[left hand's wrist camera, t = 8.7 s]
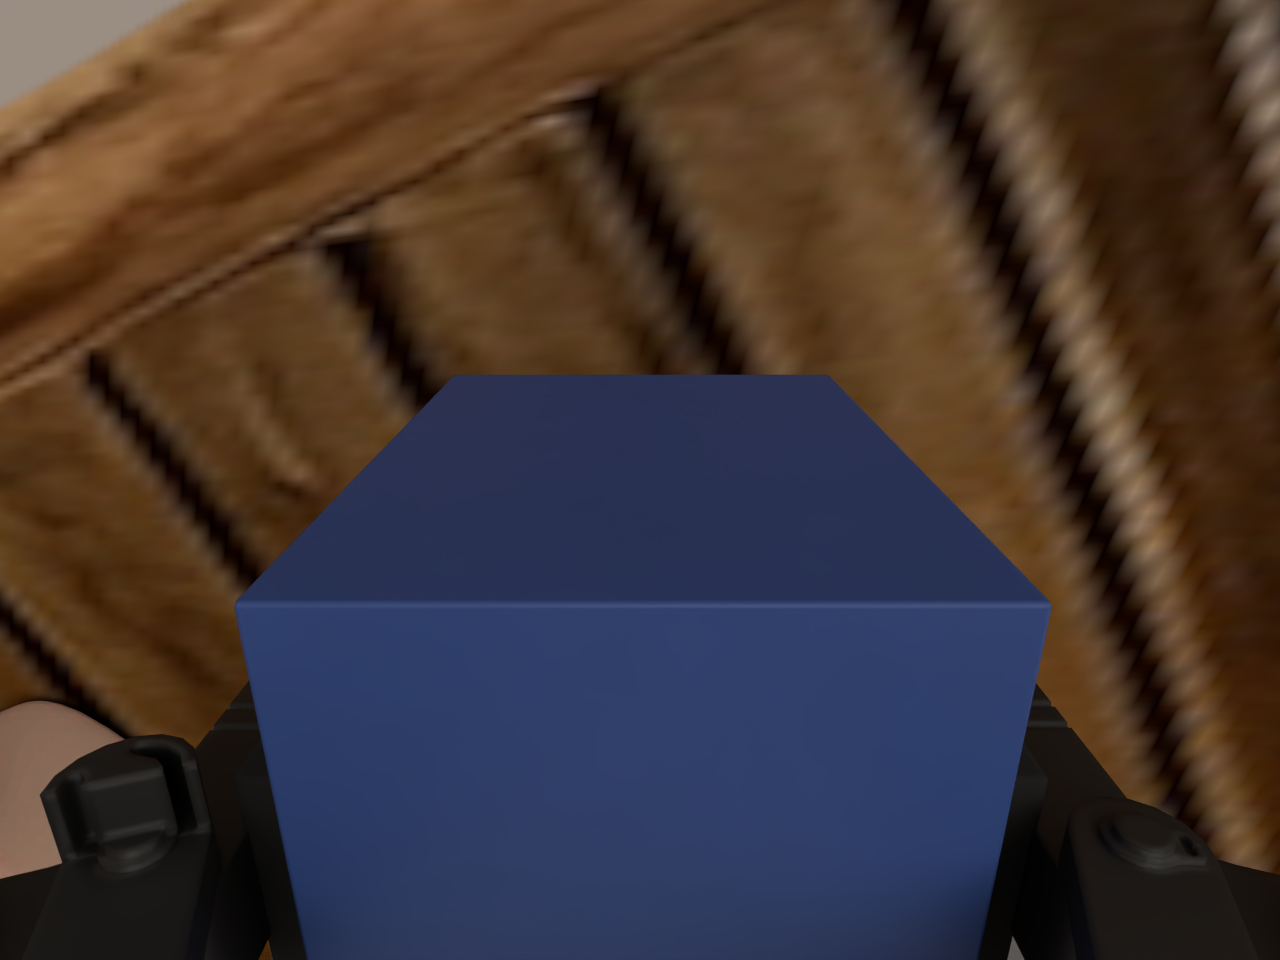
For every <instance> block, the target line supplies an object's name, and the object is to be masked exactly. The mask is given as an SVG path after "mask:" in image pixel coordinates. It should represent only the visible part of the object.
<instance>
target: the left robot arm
mask: <svg viewBox="0 0 1280 960" xmlns="http://www.w3.org/2000/svg"><path fill="white" fill-rule="evenodd" d="M40 798H41V801H42V804H43V807H44V810H45V813H46V816H47V819H48V822H49V825H50V828H51V831H52V834H53V837H54V840H55V843H56V846H57V849H58V852H59V855H60V858H61V861H62V863H61V864H57V865H54V866H51V867H48V868H43V869H39V870H35V871H31V872H26V873H22V874H18V875H14V876H9V877H5V878H1V879H0V960H258V959H259V957H260V955H261V953H262V951H263V949H264V947H265V945H266V943H267V941H268V939H269V943H270V948H271V952H272V957H273V960H306V955H305V950H304V945H303V940H302V935H301V930H300V925H299V921H298V916H297V911H296V906H295V901H294V896H293V891H292V886H291V881H290V877H289V872H288V867H287V862H286V857H285V852H284V847H283V842H282V838H281V833H280V828H279V823H278V818H277V813H276V808H275V803H274V799H273V794H272V789H271V784H270V779H269V774H268V769H267V764H266V759H265V755H264V750H263V745H262V740H261V735H260V730H259V725H258V720H257V716H256V711H255V706H254V701H253V696H252V691H251V686H250V681H248V683H247V684H246V685H245V687H244V688H243V689H242V690H241V692H240V693H239V694H238V695H237V697H236V698H235V699H234V701H233V702H232V703H231V704H230V710H226V711H225V712H224V713H223V715H222V716H221V717H220V718H219V720H218V721H217V722H216V723H215V725H214V730H213V731H209V732H208V734H207V735H206V736H205V737H204V739H203V740H202V741H201V743H200V744H199V745H198V746H197V748H196V749H195V748H194V747H193V746H191V745H190V744H189V743H188V742H187V741H185V740H184V739H183V738H179V737H174V736H169V735H164V734H159V735H147V736H136V737H132V738H129V739H125V740H122V741H118V742H115V743H111V744H108V745H105V746H103V747H101V748H99V749H97V750H95V751H93V752H90V753H88V754H86V755H84V756H82V757H80V758H78V759H77V760H75V761H74V762H73V763H71V764H70V765H69V766H67V767H66V768H64V769H63V770H62V771H60V772H59V773H58V774H56V775H55V776H54V777H53V778H52V780H51V781H50V782H49V783H48V785H47V786H46V787H45V789H44V790H43V791H42V792H41V794H40ZM978 960H1280V875H1277V874H1273V873H1269V872H1264V871H1260V870H1256V869H1252V868H1247V867H1243V866H1239V865H1235V864H1231V863H1228V862H1224V861H1221V860H1218V859H1216V857H1215V856H1214V854H1213V853H1212V851H1211V850H1210V848H1209V847H1208V845H1207V844H1206V842H1205V841H1204V840H1203V839H1202V838H1201V837H1199V836H1198V835H1197V834H1196V833H1195V832H1193V831H1192V830H1191V829H1190V828H1189V827H1187V826H1186V825H1185V824H1184V823H1183V822H1181V821H1179V820H1177V819H1176V818H1174V817H1172V816H1170V815H1168V814H1166V813H1164V812H1163V811H1161V810H1159V809H1157V808H1155V807H1152V806H1149V805H1146V804H1143V803H1140V802H1136V801H1133V800H1130V799H1127V798H1126V796H1125V795H1124V794H1123V793H1122V791H1121V790H1120V789H1119V788H1118V786H1117V785H1116V784H1115V783H1114V781H1113V780H1112V779H1111V777H1110V776H1109V775H1108V774H1107V772H1106V771H1105V770H1104V769H1103V767H1102V766H1101V765H1100V764H1099V762H1098V761H1097V760H1096V758H1095V757H1094V756H1093V755H1092V753H1091V752H1090V751H1089V750H1088V748H1087V747H1086V746H1085V745H1084V743H1083V742H1082V741H1081V740H1080V738H1079V737H1078V736H1077V734H1076V733H1075V732H1074V731H1073V729H1072V728H1068V727H1067V722H1066V721H1065V719H1064V718H1063V717H1062V715H1061V714H1060V713H1059V712H1058V710H1057V709H1056V708H1055V707H1051V702H1050V700H1049V699H1048V698H1047V696H1046V695H1045V694H1044V693H1043V691H1042V690H1041V689H1040V688H1039V686H1038V685H1037V684H1035V689H1034V694H1033V698H1032V703H1031V708H1030V713H1029V718H1028V723H1027V727H1026V732H1025V737H1024V742H1023V747H1022V751H1021V756H1020V761H1019V766H1018V771H1017V775H1016V780H1015V785H1014V790H1013V795H1012V799H1011V804H1010V809H1009V814H1008V819H1007V824H1006V828H1005V833H1004V838H1003V843H1002V848H1001V852H1000V857H999V862H998V867H997V872H996V876H995V881H994V886H993V891H992V896H991V901H990V905H989V910H988V915H987V920H986V925H985V929H984V934H983V939H982V944H981V949H980V953H979V958H978Z"/></svg>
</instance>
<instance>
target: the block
mask: <svg viewBox="0 0 1280 960" xmlns="http://www.w3.org/2000/svg"><path fill="white" fill-rule="evenodd" d="M1050 612H1051V604H1050V601H1049V600H1048V599H1047V598H1046V597H1045V596H1044V595H1043V594H1042V593H1041V592H1040V591H1039V590H1038V589H1037V588H1036V587H1035V586H1034V585H1033V584H1032V583H1031V582H1030V581H1029V580H1028V579H1027V578H1026V577H1025V576H1024V575H1023V574H1022V573H1021V572H1020V571H1019V570H1018V569H1017V568H1016V567H1015V565H1014V564H1013V563H1012V562H1011V561H1010V560H1009V559H1008V558H1007V557H1006V556H1005V555H1004V554H1003V553H1002V552H1001V551H1000V550H999V549H998V548H997V547H996V546H995V545H994V544H993V543H992V542H991V541H990V540H989V539H988V538H987V537H986V536H985V535H984V534H983V533H982V532H981V531H980V530H979V529H978V528H977V527H976V526H975V525H974V524H973V523H972V522H971V520H970V519H969V518H968V517H967V516H966V515H965V514H964V513H963V512H962V511H961V510H960V509H959V508H958V507H957V506H956V505H955V504H954V503H953V502H952V501H951V500H950V499H949V498H948V497H947V496H946V495H945V494H944V493H943V492H942V491H941V490H940V489H939V488H938V487H937V486H936V485H935V484H934V483H933V482H932V481H931V480H930V479H929V478H928V477H927V476H926V474H925V473H924V472H923V471H922V470H921V469H920V468H919V467H918V466H917V465H916V464H915V463H914V462H913V461H912V460H911V459H910V458H909V457H908V456H907V455H906V454H905V453H904V452H903V451H902V450H901V449H900V448H899V447H898V446H897V445H896V444H895V443H894V442H893V441H892V440H891V439H890V438H889V437H888V436H887V435H886V434H885V433H884V432H883V431H882V430H881V428H880V427H879V426H878V425H877V424H876V423H875V422H874V421H873V420H872V419H871V418H870V417H869V416H868V415H867V414H866V413H865V412H864V411H863V410H862V409H861V408H860V407H859V406H858V405H857V404H856V403H855V402H854V401H853V400H852V399H851V398H850V397H849V396H848V395H847V394H846V393H845V392H844V391H843V390H842V389H841V388H840V387H839V386H838V385H837V384H836V382H835V381H834V380H833V379H832V378H831V377H830V376H828V375H455V376H453V377H452V378H451V379H450V380H449V381H448V383H447V384H446V385H445V386H444V387H443V388H442V389H441V390H440V391H439V392H438V393H437V394H436V395H435V396H434V397H433V398H432V399H431V400H430V401H429V402H428V403H427V404H426V405H425V406H424V407H423V408H422V409H421V410H420V411H419V413H418V414H417V415H416V416H415V417H414V418H413V419H412V420H411V421H410V422H409V423H408V424H407V425H406V426H405V427H404V428H403V429H402V430H401V431H400V432H399V433H398V434H397V435H396V436H395V437H394V438H393V439H392V440H391V441H390V443H389V444H388V445H387V446H386V447H385V448H384V449H383V450H382V451H381V452H380V453H379V454H378V455H377V456H376V457H375V458H374V459H373V460H372V461H371V462H370V463H369V464H368V465H367V466H366V467H365V468H364V469H363V470H362V471H361V473H360V474H359V475H358V476H357V477H356V478H355V479H354V480H353V481H352V482H351V483H350V484H349V485H348V486H347V487H346V488H345V489H344V490H343V491H342V492H341V493H340V494H339V495H338V496H337V497H336V498H335V499H334V500H333V501H332V502H331V504H330V505H329V506H328V507H327V508H326V509H325V510H324V511H323V512H322V513H321V514H320V515H319V516H318V517H317V518H316V519H315V520H314V521H313V522H312V523H311V524H310V525H309V526H308V527H307V528H306V529H305V530H304V531H303V532H302V534H301V535H300V536H299V537H298V538H297V539H296V540H295V541H294V542H293V543H292V544H291V545H290V546H289V547H288V548H287V549H286V550H285V551H284V552H283V553H282V554H281V555H280V556H279V557H278V558H277V559H276V560H275V561H274V562H273V564H272V565H271V566H270V567H269V568H268V569H267V570H266V571H265V572H264V573H263V574H262V575H261V576H260V577H259V578H258V579H257V580H256V581H255V582H254V583H253V584H252V585H251V586H250V587H249V588H248V589H247V590H246V591H245V592H244V593H243V595H242V596H241V597H240V598H239V599H238V600H237V601H236V603H235V613H236V618H237V623H238V628H239V633H240V637H241V642H242V647H243V652H244V657H245V662H246V667H247V672H248V676H249V681H250V686H251V691H252V696H253V701H254V706H255V711H256V716H257V720H258V725H259V730H260V735H261V740H262V745H263V750H264V755H265V759H266V764H267V769H268V774H269V779H270V784H271V789H272V794H273V799H274V803H275V808H276V813H277V818H278V823H279V828H280V833H281V838H282V842H283V847H284V852H285V857H286V862H287V867H288V872H289V877H290V881H291V886H292V891H293V896H294V901H295V906H296V911H297V916H298V921H299V925H300V930H301V935H302V940H303V945H304V950H305V955H306V960H978V958H979V953H980V949H981V944H982V939H983V934H984V929H985V925H986V920H987V915H988V910H989V905H990V901H991V896H992V891H993V886H994V881H995V876H996V872H997V867H998V862H999V857H1000V852H1001V848H1002V843H1003V838H1004V833H1005V828H1006V824H1007V819H1008V814H1009V809H1010V804H1011V799H1012V795H1013V790H1014V785H1015V780H1016V775H1017V771H1018V766H1019V761H1020V756H1021V751H1022V747H1023V742H1024V737H1025V732H1026V727H1027V723H1028V718H1029V713H1030V708H1031V703H1032V698H1033V694H1034V689H1035V684H1036V679H1037V674H1038V670H1039V665H1040V660H1041V655H1042V650H1043V646H1044V641H1045V636H1046V631H1047V626H1048V621H1049V617H1050Z"/></svg>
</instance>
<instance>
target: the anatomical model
mask: <svg viewBox="0 0 1280 960" xmlns="http://www.w3.org/2000/svg"><path fill="white" fill-rule="evenodd" d="M122 740H125V739H124V738H122V737H121V736H119V735H118V734H116V733H115V732H113V731H112V730H110V729H109V728H107V727H106V726H104V725H102V724H100V723H99V722H97V721H95V720H94V719H92V718H90V717H88V716H87V715H85V714H83V713H82V712H79V711H77V710H74V709H72V708H69V707H67V706H64V705H62V704H58V703H53V702H48V701H31V702H26V703H22V704H19V705H16V706H13V707H11V708H9V709H7V710H4V711H2V712H0V879H1V878H5V877H9V876H14V875H18V874H22V873H26V872H31V871H35V870H39V869H43V868H48V867H51V866H54V865H57V864H61V863H62V861H61V858H60V855H59V852H58V849H57V846H56V843H55V840H54V837H53V834H52V831H51V828H50V825H49V822H48V819H47V816H46V813H45V810H44V807H43V804H42V801H41V798H40V794H41V792H42V791H43V790H44V789H45V787H46V786H47V785H48V783H49V782H50V781H51V780H52V778H53V777H54V776H55V775H56V774H58V773H59V772H60V771H62V770H63V769H64V768H66V767H67V766H69V765H70V764H71V763H73V762H74V761H75V760H77V759H78V758H80V757H82V756H84V755H86V754H88V753H90V752H93V751H95V750H97V749H99V748H101V747H103V746H105V745H108V744H111V743H115V742H118V741H122Z"/></svg>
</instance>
